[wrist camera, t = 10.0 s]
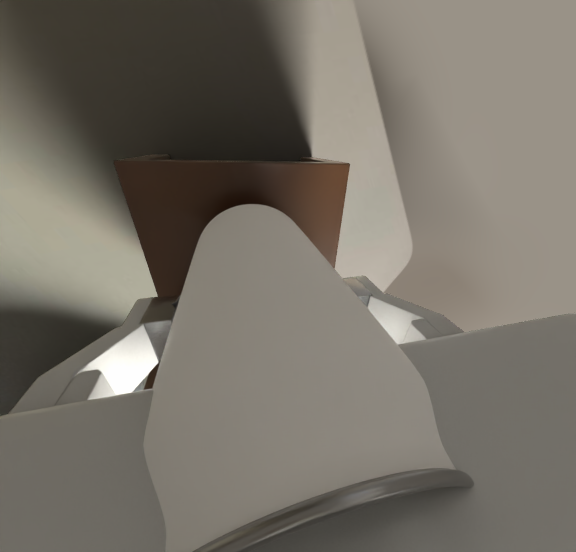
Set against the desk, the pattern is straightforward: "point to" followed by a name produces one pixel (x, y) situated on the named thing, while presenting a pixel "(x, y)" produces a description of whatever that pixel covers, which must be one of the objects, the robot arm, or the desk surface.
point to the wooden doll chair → (224, 205)
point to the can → (280, 395)
